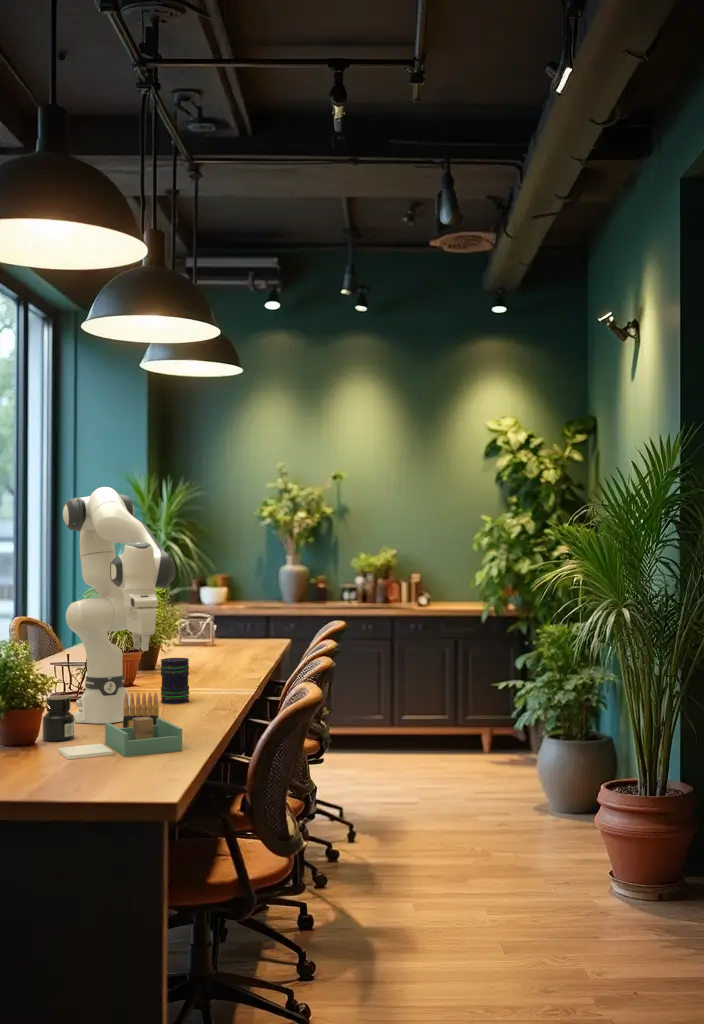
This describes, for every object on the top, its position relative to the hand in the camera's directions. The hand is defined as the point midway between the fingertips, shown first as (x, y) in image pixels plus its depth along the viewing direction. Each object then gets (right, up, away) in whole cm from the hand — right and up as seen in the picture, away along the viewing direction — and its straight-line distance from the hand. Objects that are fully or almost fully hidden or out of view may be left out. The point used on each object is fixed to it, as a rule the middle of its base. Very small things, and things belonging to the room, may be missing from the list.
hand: (141, 649), depth 305 cm
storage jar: (-3, -28, +78) cm, 83 cm away
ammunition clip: (-4, -28, +21) cm, 35 cm away
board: (-13, -27, -9) cm, 31 cm away
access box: (+1, -27, -1) cm, 27 cm away
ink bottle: (-26, -28, +12) cm, 40 cm away
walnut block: (+1, -27, -1) cm, 27 cm away
